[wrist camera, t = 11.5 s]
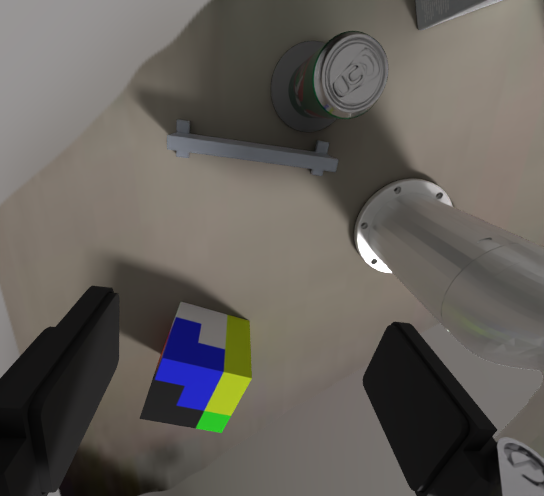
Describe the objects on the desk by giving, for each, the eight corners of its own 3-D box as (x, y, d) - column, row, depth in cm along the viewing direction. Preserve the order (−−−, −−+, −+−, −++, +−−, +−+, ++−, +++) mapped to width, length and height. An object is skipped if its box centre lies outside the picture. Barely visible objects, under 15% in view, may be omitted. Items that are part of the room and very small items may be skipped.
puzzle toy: (180, 301, 39) (162, 357, 30) (249, 320, 41) (251, 378, 32) (161, 353, 42) (139, 418, 33) (225, 368, 45) (221, 432, 36)
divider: (327, 141, 32) (341, 146, 27) (320, 174, 33) (332, 184, 29) (178, 119, 29) (166, 120, 25) (178, 155, 31) (167, 162, 26)
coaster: (356, 50, 28) (358, 49, 28) (337, 136, 32) (339, 136, 31) (277, 34, 27) (278, 33, 27) (265, 125, 30) (266, 125, 30)
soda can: (345, 96, 29) (407, 84, 19) (305, 128, 30) (342, 135, 19) (319, 48, 27) (371, 4, 17) (277, 84, 28) (300, 65, 18)
